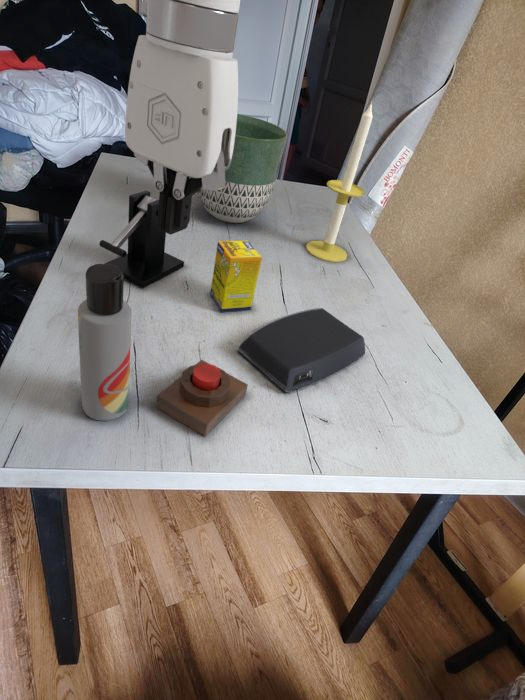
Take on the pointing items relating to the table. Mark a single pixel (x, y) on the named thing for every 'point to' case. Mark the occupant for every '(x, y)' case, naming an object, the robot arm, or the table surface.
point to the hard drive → (302, 348)
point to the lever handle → (128, 229)
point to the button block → (201, 400)
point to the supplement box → (235, 275)
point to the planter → (248, 172)
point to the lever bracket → (146, 248)
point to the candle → (342, 197)
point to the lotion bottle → (104, 344)
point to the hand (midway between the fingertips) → (172, 228)
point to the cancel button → (206, 377)
